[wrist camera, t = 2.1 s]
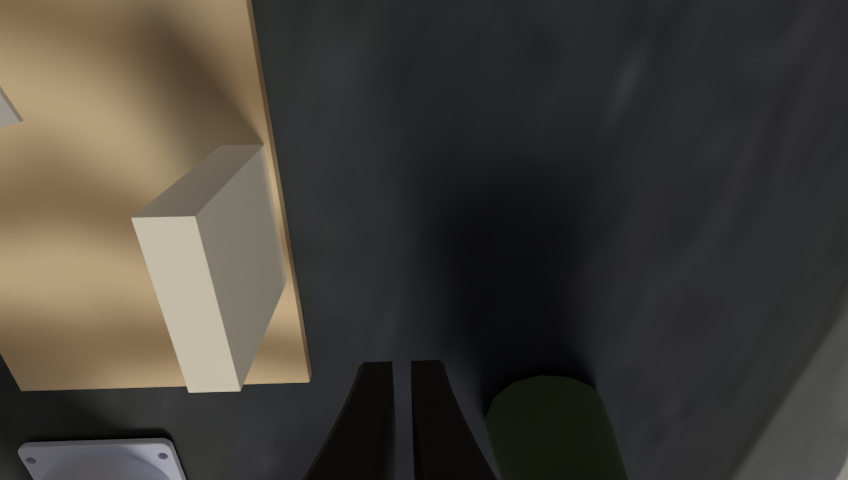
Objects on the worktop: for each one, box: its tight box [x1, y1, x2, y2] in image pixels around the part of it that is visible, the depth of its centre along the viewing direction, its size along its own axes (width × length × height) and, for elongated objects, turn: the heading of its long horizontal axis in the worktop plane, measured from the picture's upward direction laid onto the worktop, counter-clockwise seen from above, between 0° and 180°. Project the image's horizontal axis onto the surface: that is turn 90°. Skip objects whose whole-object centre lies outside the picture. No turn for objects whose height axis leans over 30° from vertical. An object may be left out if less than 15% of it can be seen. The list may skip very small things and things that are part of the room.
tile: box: [131, 144, 288, 393], centre depth 16 cm, size 6×2×6 cm, turn 1°
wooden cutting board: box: [0, 0, 312, 391], centre depth 19 cm, size 18×14×1 cm
